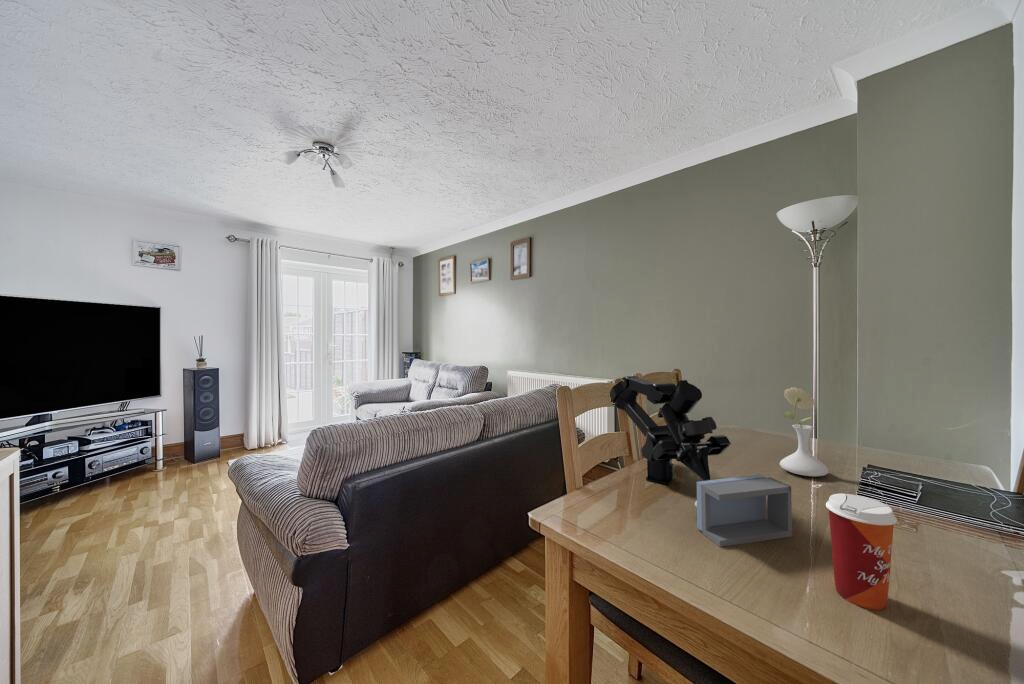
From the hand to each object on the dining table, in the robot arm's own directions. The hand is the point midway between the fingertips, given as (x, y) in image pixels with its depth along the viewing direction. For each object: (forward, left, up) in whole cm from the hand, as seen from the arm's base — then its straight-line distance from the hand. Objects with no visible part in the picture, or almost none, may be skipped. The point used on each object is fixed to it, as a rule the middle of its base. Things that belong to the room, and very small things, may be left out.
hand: (707, 480), depth 88 cm
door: (+5, -4, -7) cm, 10 cm away
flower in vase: (+20, +41, -8) cm, 46 cm away
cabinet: (+8, -8, -7) cm, 13 cm away
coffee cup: (+24, -19, -8) cm, 31 cm away
